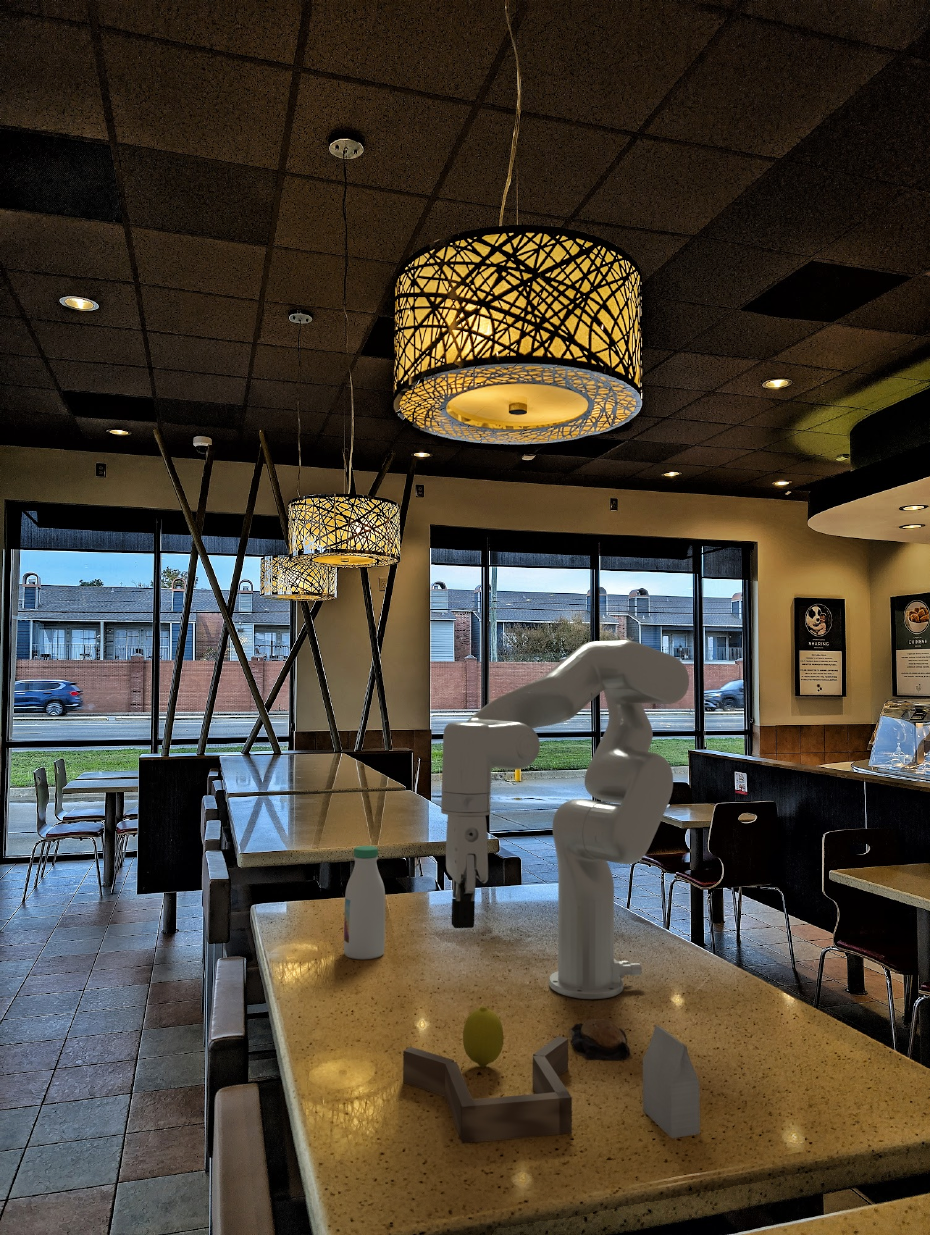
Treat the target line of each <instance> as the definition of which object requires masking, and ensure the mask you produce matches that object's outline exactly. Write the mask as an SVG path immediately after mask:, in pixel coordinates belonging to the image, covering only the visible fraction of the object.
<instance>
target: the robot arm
mask: <svg viewBox="0 0 930 1235" xmlns="http://www.w3.org/2000/svg"><path fill="white" fill-rule="evenodd" d="M689 686H690V676H689V672H688V669H687V667H686V666H685V665H684V663H683V662H682V661H681V660H680V659H679V658H677V657H676V656H674V655H671V654H669V653H666V652H663V651H661V650H659V649H655V648H653V647H651V646H648V645H645V644H642V643H640V642H636V641H634V640H623V639H621V640H599V641H598V640H596V641H591V642H589V641H588V642H586V643H583V644H581V645H580V646H579V647H578V648H576V649H575V650H574V651H572V652H571V653H570V654H569V655H568V656H566V657H565V658H564V659H563V660H561V661H560V662H559V663H558V664H557V665H555V666H554V667H553V668H552V669H550V670H549V672H547V673H546V674H545V675H543V676H542V677H540V678H539V679H537V680H535V681H532V682H529V683H527V684H524V685H523V686H521V687H519V688H516V689H515V690H513V691H511V692H507V693H505V694H504V695H501V696H499V697H497V698H495V699H494V700H492V701H490V702H489V703H487V704H486V705H485V706H483V707H482V708H480V710H478V711H477V712H476V713H475V714H474V715H471V717H470V718H469V719H468V720H467V721H464V722H463V721H458V722H457V721H455V722H450V723H447V724H446V725H445V727H444V729H443V735H442V736H443V738H442V740H443V741H442V742H443V743H442V764H441V766H442V771H441V801H440V802H441V805H440V806H441V808H440V809H441V810H440V813H441V814H444V815H446V816H447V820H446V840H445V841H446V842H445V843H446V844H445V867H446V872H447V873H448V875H449V876H450V877H451V878H452V899H451V926H453V928H454V929H472V928H474V927H475V910H476V909H475V908H476V907H475V904H476V903H475V902H476V901H475V900H476V899H475V898H476V897H475V896H476V882H477V879H478V880H479V881H480V883H482V884H486V883H487V882H488V880H489V860H488V859H489V858H488V853H489V852H488V849H489V847H488V829H487V828H488V826H487V818H486V816H489V815H491V800H492V799H491V798H492V797H491V795H492V794H491V793H492V789H491V788H492V769H493V768H494V769H495V768H497V769H504V770H513V771H514V770H515V771H516V770H522V769H524V768H528V767H529V766H530V765H531V764H533V763H534V762H535V760H537V757H538V756H539V752H540V749H541V748H540V747H541V743H540V739H539V736H538V734H537V732H536V731H535V730H534V729H537V728H538V729H539V728H543V727H548V726H552V725H557V724H560V723H563V722H566V721H569V720H571V719H572V718H574V717H575V716H576V715H578V714H579V713H580V712H581V711H582V710H583V709H584V708H585V707H587V705H588V704H590V703H591V701H592V700H594V699H595V698H596V697H597V696H598V695H600V694H601V693H602V692H603V694H604V697H605V700H606V705H607V711H608V723H607V726H606V729H605V731H604V733H603V736H602V738H601V739H600V742H599V744H598V746H597V748H596V750H595V752H594V754H593V756H592V757H591V760H590V762H589V765H588V767H587V769H586V772H585V775H584V786H585V790H586V792H587V794H589V795H590V796H592V798H594V799H597V800H591V799H584V798H577V799H571V800H568V801H565V802H564V803H563V804H561V805H560V806H559V807H558V808H557V809H556V812H555V813H554V815H553V816H554V817H553V820H552V836H553V841H554V847H555V852H556V859H557V871H558V872H557V875H558V878H557V880H558V885H557V886H558V896H557V897H558V902H557V905H558V907H557V911H558V912H557V913H558V920H557V921H558V922H557V924H558V925H557V926H558V927H557V928H558V929H557V931H558V934H557V935H558V936H557V939H558V940H557V942H558V944H557V946H558V947H557V948H558V949H557V950H558V951H557V959H558V960H557V962H558V963H557V968H558V970H557V971H555V972H553V973H552V974H550V975H549V978H548V985H549V987H550V988H551V989H552V990H553V991H555V992H556V993H557V994H560V995H563V996H565V997H568V998H575V999H581V1000H582V999H583V1000H600V999H607V998H612V997H615V996H617V995H619V994H621V993H622V992H623V990H624V981H623V979H624V978H625V976H630V977H631V976H642V965H641V963H639V962H638V963H635V962H634V963H629V961H628V960H620V961H618V960H617V959H616V958H615V916H614V915H615V913H614V912H615V907H614V906H615V904H614V903H615V901H614V900H615V886H614V885H615V882H614V877H613V873H612V870H611V868H610V866H609V863H608V862H611V863H615V864H623V865H633V864H635V863H638V862H639V861H641V860H642V859H643V857H644V856H645V855H646V854H647V853H648V850H649V848H650V846H651V844H652V842H653V839H654V838H655V835H656V833H657V831H658V828H659V826H660V824H661V821H662V820H663V817H664V814H665V812H666V810H667V807H668V805H669V802H670V800H671V797H672V793H673V789H674V776H673V775H674V774H673V771H672V768H671V765H670V763H669V762H668V760H667V759H666V758H665V757H663V756H662V755H660V754H657V753H655V752H651V751H650V747H651V744H652V742H653V737H654V736H653V727H652V724H651V722H650V720H649V718H648V715H647V713H646V710H645V709H644V705H643V704H649V705H650V704H655V705H656V704H657V705H671V704H676V703H678V702H679V701H681V700H682V699H683V698H684V697H685V695H686V694H687V693H688V690H689Z"/></svg>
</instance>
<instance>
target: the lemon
mask: <svg viewBox="0 0 930 1235" xmlns="http://www.w3.org/2000/svg"><path fill="white" fill-rule="evenodd" d="M504 1037H505V1036H504V1028H503V1025H502V1021H501V1019H500V1017H499V1016H498V1015H497V1013H496V1012H495V1011H493V1010H491V1009H489V1008H487V1006H485V1005H481V1006H480V1008H477V1009H475V1010H473V1011H472V1012H470V1013H469V1015H468V1016H467V1018H466V1020H465V1022H464V1026H463V1032H462V1042H463V1043H462V1044H463V1048H464V1052H465V1053H466V1054H465V1055H467V1057H468V1058H469V1059H470V1060H471V1061H472V1062H473V1063H476V1064H477V1065H478V1066H479V1067H480V1068H481V1069H482V1068H486V1067H487V1066H488V1065H489V1064H491V1063H493V1062H495V1061H496V1060H497V1058H499V1056H500V1054H501V1052H502V1049H503V1046H504Z"/></svg>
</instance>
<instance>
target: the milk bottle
mask: <svg viewBox="0 0 930 1235" xmlns="http://www.w3.org/2000/svg"><path fill="white" fill-rule="evenodd" d="M378 856H379V848H378V847H377V846H373V845H360V846H356V847H354V848H353V860H354V867H353V870H352V872H351V874H350V877H349V879H348V882H347V885H346V888H345V896H344V898H345V899H344V918H343V921H344V922H343V924H344V925H343V926H344V927H343V931H344V932H343V954H344V955H345V957H347V958H350V959H352V960H353V959H354V960H373V959H376V958H379V957H382V956H383V955H384V952H385V948H386V947H385V945H386V943H385V942H386V941H385V940H386V939H385V938H386V937H385V936H386V891H385V890H386V889H385V885H384V882H383V879H382V877H381V874H380V872H379V869H378V864H377V861H378V859H379V857H378Z"/></svg>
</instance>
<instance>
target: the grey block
mask: <svg viewBox="0 0 930 1235" xmlns="http://www.w3.org/2000/svg"><path fill="white" fill-rule="evenodd" d="M697 1075H698V1074H697V1072H696V1070H695V1068H694V1066H693V1064H692V1061H691V1058H690V1055H689V1051H688V1047H687V1045H686V1044H684V1043H682V1042H681V1041H680V1040H678V1039H677V1038H676V1037H675V1036H673V1035H672V1034H671V1033H670V1032H668V1031H667V1030H666V1029H664V1028H663V1027H661V1026H660V1025H659V1024H655V1025H654V1029H653V1033H652V1036H651V1039H650V1042H649V1045H648V1046H647V1050H646V1052H645V1054H644V1057H643V1058H642V1111H643V1112H644V1113H645V1114H646V1115H647V1117H650V1119H651V1120H652V1121H653V1122H654V1123H655V1124H657V1125H658V1127H659V1128H660V1129H661V1130H662V1131H663V1132H664V1133H666V1134H667V1136H669V1137H670V1138H671V1139H677V1138H682V1137H688V1136H694V1135H695V1136H696V1135H700V1133H701V1132H700V1129H701V1127H700V1126H701V1125H700V1124H701V1122H700V1121H701V1120H700V1118H701V1116H700V1111H701V1110H700V1080H699V1078H698V1076H697Z"/></svg>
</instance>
